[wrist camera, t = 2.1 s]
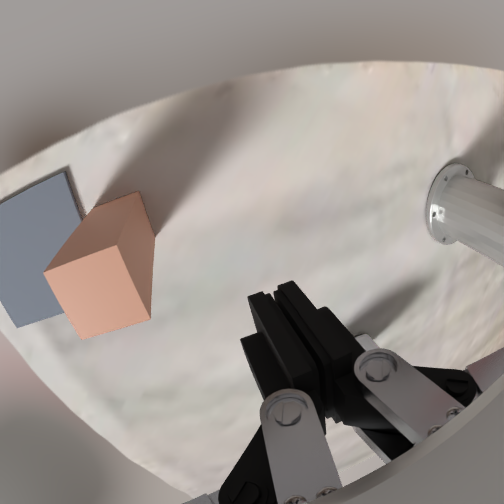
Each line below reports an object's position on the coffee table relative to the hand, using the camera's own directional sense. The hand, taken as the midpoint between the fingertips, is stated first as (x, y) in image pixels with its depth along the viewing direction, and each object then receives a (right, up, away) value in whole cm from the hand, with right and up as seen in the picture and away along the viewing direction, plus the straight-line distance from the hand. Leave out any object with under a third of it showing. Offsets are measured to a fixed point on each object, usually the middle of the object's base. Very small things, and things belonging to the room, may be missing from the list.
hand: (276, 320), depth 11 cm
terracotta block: (-13, +5, +17) cm, 22 cm away
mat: (-24, +2, +16) cm, 29 cm away
